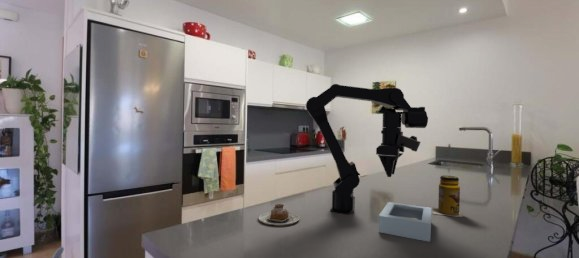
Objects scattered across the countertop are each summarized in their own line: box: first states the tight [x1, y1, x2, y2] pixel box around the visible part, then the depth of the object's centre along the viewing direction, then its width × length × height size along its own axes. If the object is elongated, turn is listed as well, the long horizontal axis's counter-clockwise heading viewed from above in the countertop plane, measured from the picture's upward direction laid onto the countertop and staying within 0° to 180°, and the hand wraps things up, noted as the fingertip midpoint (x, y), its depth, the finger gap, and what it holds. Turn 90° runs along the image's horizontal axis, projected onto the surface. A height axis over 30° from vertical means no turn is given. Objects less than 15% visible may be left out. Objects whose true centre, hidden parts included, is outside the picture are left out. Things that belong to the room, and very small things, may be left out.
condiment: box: [429, 175, 464, 218], centre depth 91 cm, size 7×8×12 cm
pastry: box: [258, 203, 300, 227], centre depth 80 cm, size 12×12×5 cm
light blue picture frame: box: [378, 201, 432, 243], centre depth 76 cm, size 12×16×4 cm
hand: (390, 175), depth 89 cm, fingers open, 6 cm apart
